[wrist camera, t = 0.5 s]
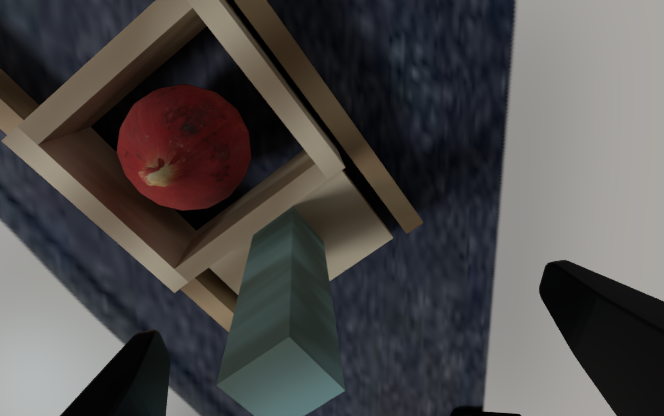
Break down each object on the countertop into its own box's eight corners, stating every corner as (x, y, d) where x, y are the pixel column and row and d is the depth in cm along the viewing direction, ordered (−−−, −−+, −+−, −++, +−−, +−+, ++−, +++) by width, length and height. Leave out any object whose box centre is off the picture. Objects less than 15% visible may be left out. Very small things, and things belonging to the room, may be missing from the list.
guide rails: (413, 209, 24) (423, 222, 22) (246, 324, 26) (242, 344, 25) (130, -191, 16) (109, -223, 14) (-78, 25, 18) (-120, 21, 16)
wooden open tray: (395, 225, 24) (480, 373, 13) (263, 315, 26) (237, 515, 15) (216, -14, 18) (90, -124, 7) (62, 123, 20) (-236, 208, 9)
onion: (189, 56, 20) (125, 56, 12) (277, 126, 21) (268, 162, 14) (132, 142, 21) (44, 188, 14) (220, 200, 23) (183, 269, 15)
